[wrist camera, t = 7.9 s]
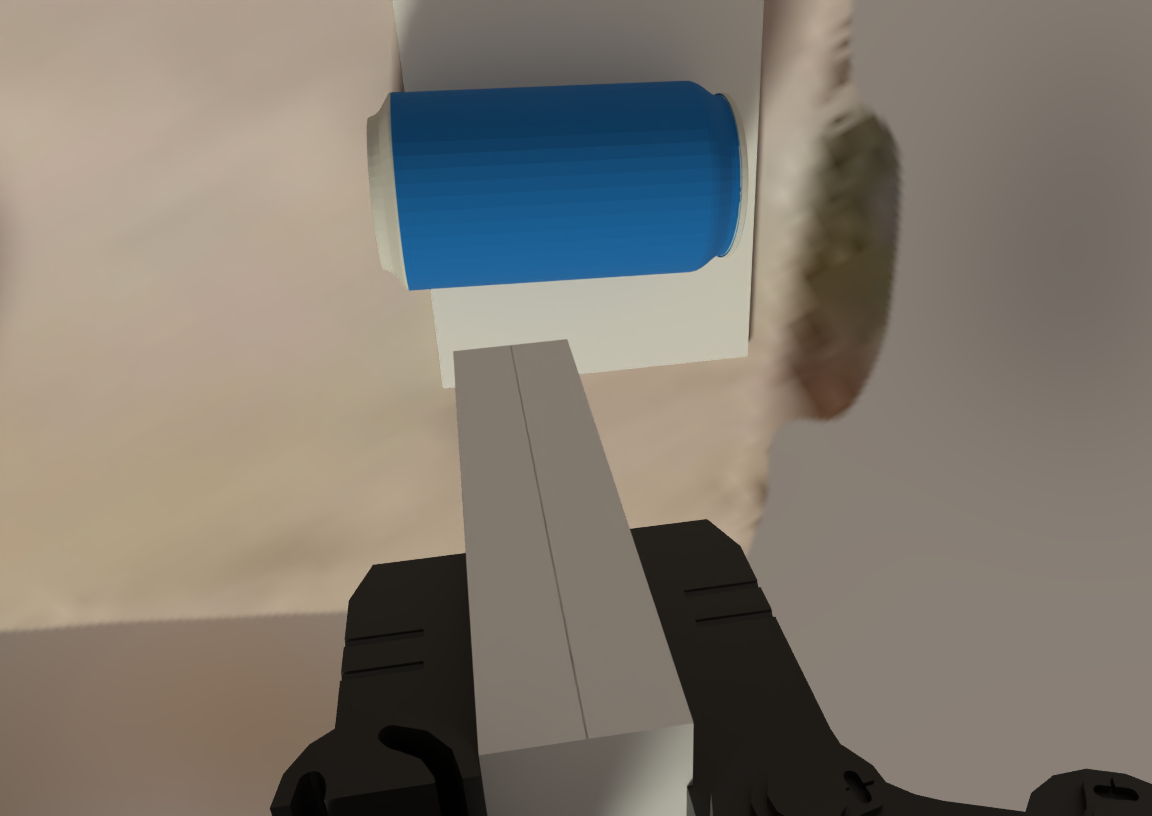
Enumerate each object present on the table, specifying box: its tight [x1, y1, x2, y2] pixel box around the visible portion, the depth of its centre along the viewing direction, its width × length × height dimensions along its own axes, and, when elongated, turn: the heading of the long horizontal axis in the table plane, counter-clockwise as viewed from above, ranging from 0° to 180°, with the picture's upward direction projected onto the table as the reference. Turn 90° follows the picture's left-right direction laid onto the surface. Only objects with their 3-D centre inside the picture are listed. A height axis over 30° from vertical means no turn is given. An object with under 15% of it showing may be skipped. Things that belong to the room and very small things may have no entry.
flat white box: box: [392, 0, 764, 389], centre depth 34 cm, size 22×13×1 cm, turn 3°
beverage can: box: [367, 81, 748, 290], centre depth 32 cm, size 6×6×12 cm
